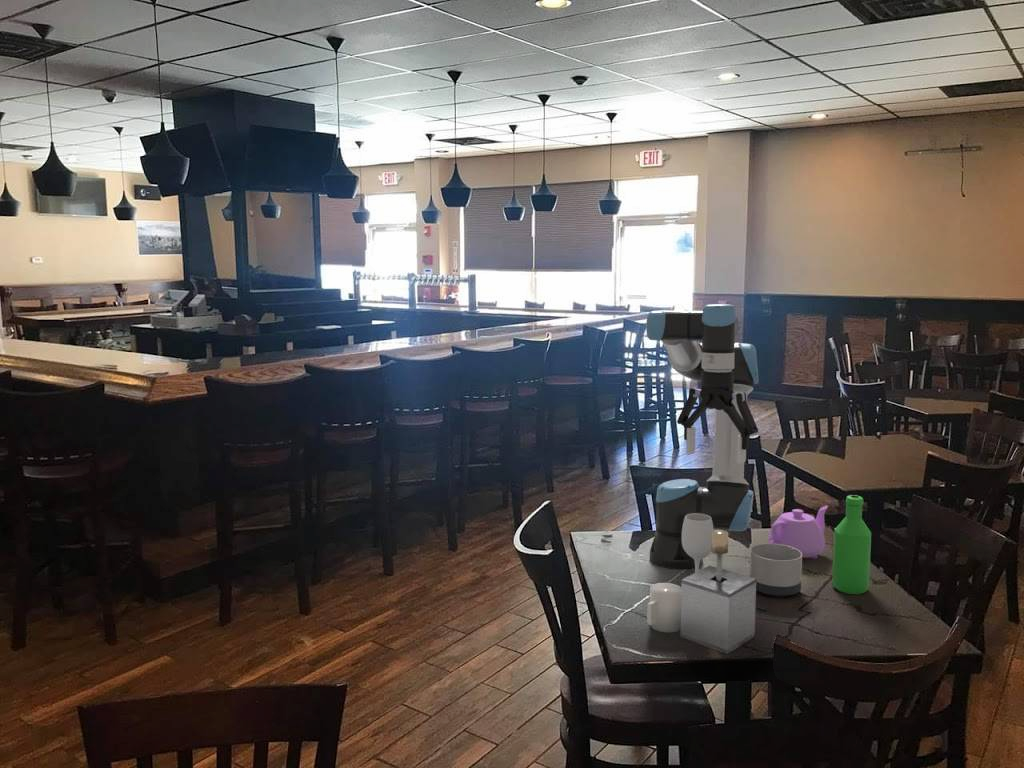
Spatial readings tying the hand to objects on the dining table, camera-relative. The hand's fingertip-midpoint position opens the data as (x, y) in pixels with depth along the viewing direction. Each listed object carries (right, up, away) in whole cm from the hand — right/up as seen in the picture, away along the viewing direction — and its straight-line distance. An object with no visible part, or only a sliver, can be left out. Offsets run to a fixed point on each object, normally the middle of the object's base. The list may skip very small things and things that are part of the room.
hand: (715, 458), depth 187 cm
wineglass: (-1, -37, +15) cm, 40 cm away
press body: (-2, -40, -8) cm, 41 cm away
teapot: (+36, -33, +43) cm, 65 cm away
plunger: (-2, -39, -8) cm, 39 cm away
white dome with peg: (-13, -40, -3) cm, 42 cm away
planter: (+20, -37, +18) cm, 46 cm away
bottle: (+40, -36, +18) cm, 57 cm away
